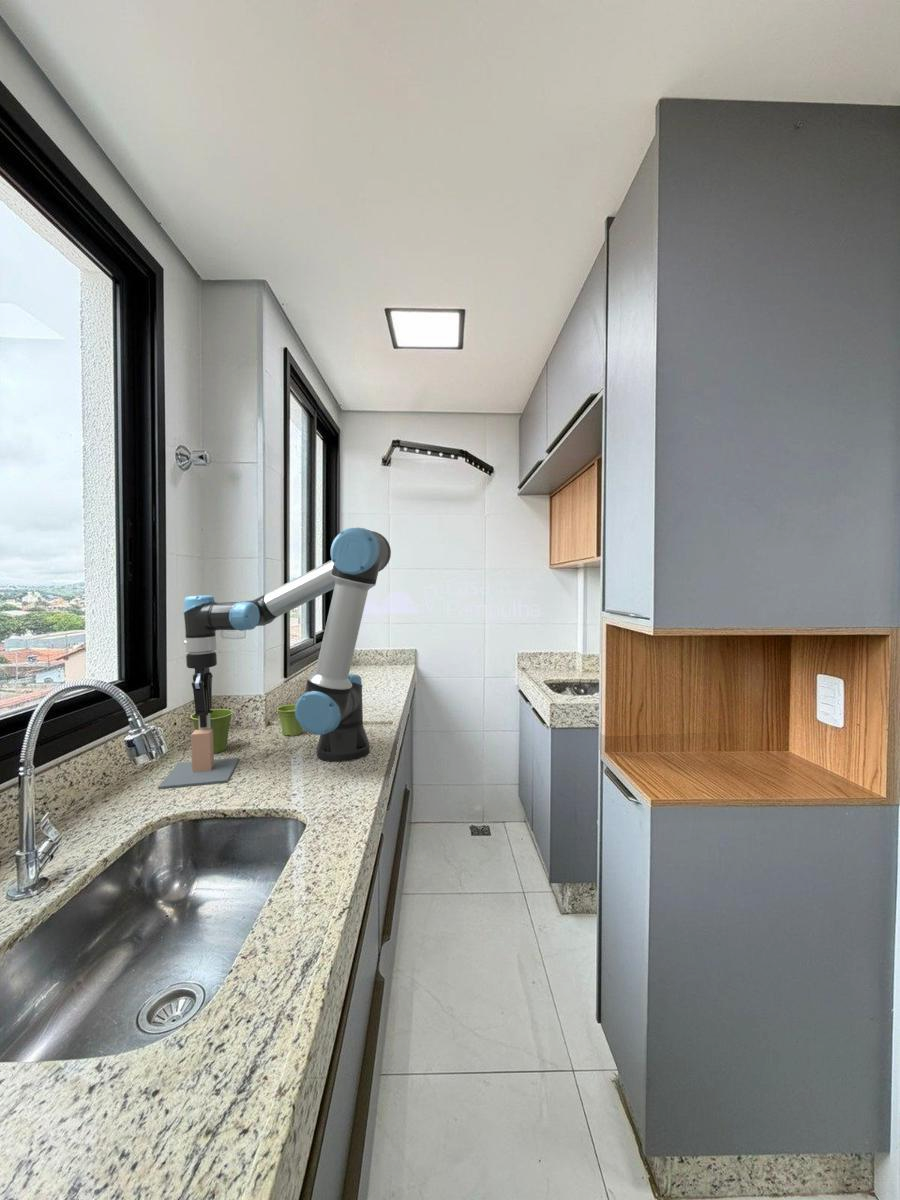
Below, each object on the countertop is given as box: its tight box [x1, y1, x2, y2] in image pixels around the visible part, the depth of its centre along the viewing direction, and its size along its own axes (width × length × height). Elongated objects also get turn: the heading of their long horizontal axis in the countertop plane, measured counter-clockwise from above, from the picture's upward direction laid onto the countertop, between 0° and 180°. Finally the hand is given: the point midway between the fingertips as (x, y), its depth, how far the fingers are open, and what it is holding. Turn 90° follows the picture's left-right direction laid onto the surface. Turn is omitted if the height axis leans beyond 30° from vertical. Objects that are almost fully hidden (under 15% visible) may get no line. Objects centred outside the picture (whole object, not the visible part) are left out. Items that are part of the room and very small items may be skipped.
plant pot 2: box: [276, 704, 303, 737], centre depth 181 cm, size 9×9×9 cm
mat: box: [157, 757, 240, 790], centre depth 145 cm, size 16×18×1 cm
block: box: [190, 729, 215, 772], centre depth 147 cm, size 4×4×10 cm
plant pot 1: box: [189, 708, 234, 754], centre depth 164 cm, size 12×12×11 cm
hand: (205, 737), depth 150 cm, fingers closed
